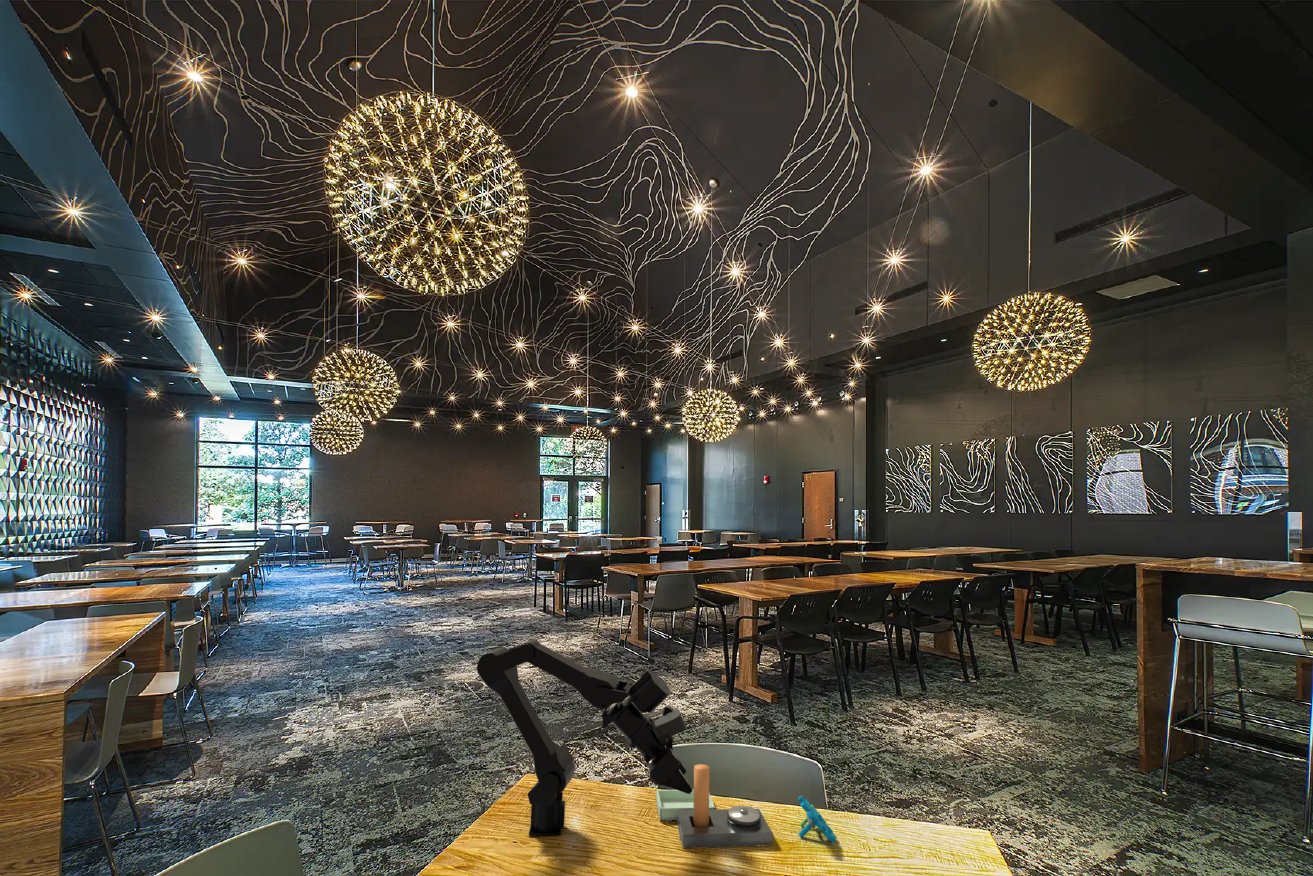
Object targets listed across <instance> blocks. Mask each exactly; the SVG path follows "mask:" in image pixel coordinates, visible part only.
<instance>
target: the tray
mask: <svg viewBox="0 0 1313 876" xmlns="http://www.w3.org/2000/svg"><path fill="white" fill-rule="evenodd" d="M692 790H693V791H692V792H691V793H690V794H687V793H684V792H681V791H679V790H676V789H656V791H655V792H656V794H655V801H656V802H655V804H656V803H657V804H656V808H658V809H657V813H659V814H658V818H660V819H659V821H660V820H662V821H661V822H673V821H672V820H677V810H694V788H692ZM709 810H716V807H715V804H714V801H713V798H712V796H711V794H710V793H709ZM664 820H665V821H664Z"/></svg>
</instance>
